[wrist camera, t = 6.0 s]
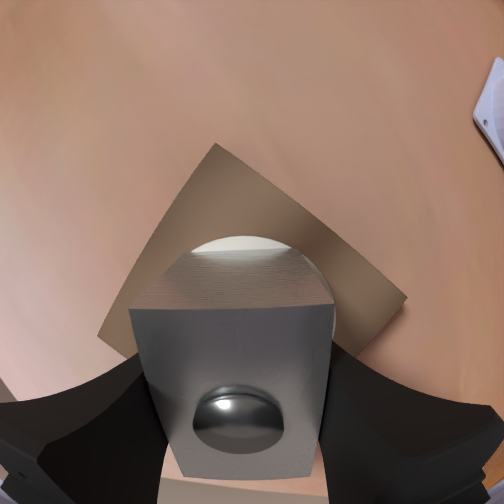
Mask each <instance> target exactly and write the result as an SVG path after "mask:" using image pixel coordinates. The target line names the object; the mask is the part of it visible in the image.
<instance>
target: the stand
mask: <svg viewBox="0 0 504 504" xmlns="http://www.w3.org/2000/svg"><path fill="white" fill-rule="evenodd" d="M277 248H298V249H299V251H300V252H301V254H302V255H303V257H304V258H305V260H306V261H307V262H308V264H309V265H310V267H311V268H312V270H313V271H314V273H315V274H316V276H317V277H318V279H319V280H320V282H321V283H322V285H323V286H324V288H325V289H326V291H327V292H328V294H329V295H330V297H331V298H332V300H333V301H334V303H335V310H334V323H333V334H332V340H333V341H334V342H335V343H336V344H338V345H339V346H340V347H341V348H343V349H344V350H345V351H347V352H348V353H349V354H350V355H352V356H353V357H356V356H357V355H358V354H359V353H360V352H361V351H362V350H363V349H364V348H365V347H366V346H367V345H368V344H369V343H370V341H371V340H372V339H373V338H374V337H375V336H376V335H377V334H378V333H379V331H380V330H381V329H382V328H383V327H384V326H385V325H386V323H387V322H388V321H389V320H390V319H391V318H392V316H393V315H394V314H395V313H396V312H397V310H398V309H399V308H400V307H401V305H402V304H403V303H404V302H405V300H406V299H407V298H408V297H407V296H406V295H405V294H404V293H403V292H401V291H400V290H399V289H398V288H397V287H396V286H395V285H394V284H393V283H392V282H391V281H390V280H388V279H387V278H386V277H385V276H384V275H383V274H382V273H381V272H380V271H379V270H377V269H376V268H375V267H374V266H373V265H372V264H371V263H370V262H368V261H367V260H366V259H365V258H364V257H363V256H362V255H360V254H359V253H358V252H357V251H356V250H355V249H353V248H352V247H351V246H350V245H349V244H348V243H346V242H345V241H344V240H343V239H342V238H341V237H339V236H338V235H337V234H336V233H335V232H333V231H332V230H331V229H330V228H328V227H327V226H326V225H325V224H324V223H322V222H321V221H320V220H319V219H317V218H316V217H315V216H314V215H312V214H311V213H310V212H309V211H307V210H306V209H305V208H304V207H302V206H301V205H300V204H299V203H297V202H296V201H295V200H293V199H292V198H291V197H290V196H288V195H287V194H286V193H284V192H283V191H282V190H280V189H279V188H278V187H276V186H275V185H274V184H272V183H271V182H270V181H268V180H267V179H266V178H264V177H263V176H262V175H260V174H259V173H258V172H256V171H255V170H254V169H252V168H251V167H249V166H248V165H247V164H245V163H244V162H242V161H241V160H240V159H238V158H237V157H235V156H234V155H233V154H231V153H230V152H228V151H227V150H225V149H224V148H222V147H221V146H220V145H218V144H217V143H215V144H214V145H213V146H212V148H211V149H210V150H209V152H208V153H207V154H206V156H205V157H204V158H203V160H202V161H201V163H200V164H199V165H198V167H197V168H196V170H195V171H194V172H193V174H192V175H191V177H190V178H189V179H188V181H187V182H186V184H185V185H184V187H183V188H182V190H181V191H180V193H179V194H178V195H177V197H176V198H175V200H174V201H173V203H172V204H171V206H170V208H169V209H168V211H167V212H166V214H165V215H164V217H163V218H162V220H161V221H160V223H159V225H158V226H157V228H156V229H155V231H154V233H153V234H152V236H151V238H150V239H149V241H148V242H147V244H146V246H145V247H144V249H143V251H142V253H141V254H140V256H139V258H138V259H137V261H136V263H135V265H134V266H133V268H132V270H131V272H130V273H129V275H128V277H127V279H126V280H125V282H124V284H123V286H122V288H121V290H120V291H119V293H118V295H117V297H116V299H115V301H114V303H113V305H112V307H111V309H110V311H109V313H108V314H107V316H106V318H105V320H104V322H103V325H102V327H101V329H100V331H99V333H98V335H97V336H98V337H99V338H100V339H101V340H103V341H104V342H105V343H107V344H108V345H109V346H110V347H112V348H113V349H114V350H116V351H117V352H118V353H120V354H121V355H123V356H124V357H125V358H127V359H129V358H130V357H132V356H133V355H135V354H136V353H138V349H137V345H136V341H135V337H134V333H133V329H132V324H131V320H130V315H129V311H128V308H129V307H130V306H131V305H132V304H133V303H134V302H135V301H136V300H137V299H138V298H139V297H140V296H141V295H142V294H143V293H144V292H145V291H146V290H147V289H148V288H149V287H150V286H151V285H152V284H153V283H154V282H155V281H156V280H157V279H158V278H159V277H160V276H161V275H162V274H163V273H164V272H165V271H166V270H167V269H168V268H169V267H170V266H171V265H172V264H173V263H174V262H175V261H176V260H177V259H178V258H179V257H180V256H181V255H182V254H183V253H184V252H204V251H228V250H253V249H277Z"/></svg>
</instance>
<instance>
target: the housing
mask: <svg viewBox="0 0 504 504" xmlns="http://www.w3.org/2000/svg"><path fill="white" fill-rule="evenodd" d="M334 310H335V303H334V301H333V300H332V298H331V297H330V295H329V294H328V292H327V291H326V289H325V288H324V286H323V285H322V283H321V282H320V280H319V279H318V277H317V276H316V274H315V273H314V271H313V270H312V268H311V267H310V265H309V264H308V262H307V261H306V260H305V258H304V257H303V255H302V254H301V252H300V251H299V249H298V248H277V249H253V250H228V251H204V252H184V253H183V254H182V255H181V256H180V257H179V258H178V259H177V260H176V261H175V262H174V263H173V264H172V265H171V266H170V267H169V268H168V269H167V270H166V271H165V272H164V273H163V274H162V275H161V276H160V277H159V278H158V279H157V280H156V281H155V282H154V283H153V284H152V285H151V286H150V287H149V288H148V289H147V290H146V291H145V292H144V293H143V294H142V295H141V296H140V297H139V298H138V299H137V300H136V301H135V302H134V303H133V304H132V305H131V306H130V307H129V308H128V311H129V315H130V320H131V324H132V329H133V333H134V337H135V341H136V345H137V349H138V353H139V356H140V360H141V363H142V367H143V370H144V374H145V377H146V380H147V384H148V387H149V390H150V393H151V396H152V399H153V402H154V405H155V408H156V411H157V413H158V416H159V419H160V422H161V424H162V427H163V430H164V432H165V435H166V437H167V440H168V442H169V445H170V447H171V449H172V452H173V454H174V456H175V459H176V461H177V463H178V465H179V468H180V470H181V472H182V474H183V476H184V477H192V478H203V479H217V480H275V479H289V478H300V477H309V476H310V474H311V470H312V465H313V461H314V456H315V451H316V446H317V441H318V436H319V430H320V425H321V419H322V413H323V407H324V400H325V393H326V386H327V379H328V371H329V363H330V354H331V344H332V334H333V323H334Z"/></svg>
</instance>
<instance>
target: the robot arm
mask: <svg viewBox="0 0 504 504" xmlns="http://www.w3.org/2000/svg"><path fill="white" fill-rule="evenodd" d="M473 118H474V120H475V122H476V124H477V125H478V126H479V128H480V129H481V131H482V132H483V133H484V135H485V136H486V138H487V139H488V141H489V142H490V144H491V145H492V147H493V148H494V150H495V151H496V153H497V155H498V156H499V158H500V160H501V161H502V163H503V165H504V61H503V60H502V59H501V58H500V57H498V58H496V59H495V61H494V64H493V66H492V69H491V72H490V74H489V77H488V79H487V82H486V84H485V87H484V89H483V91H482V94H481V96H480V98H479V101H478V103H477V105H476V107H475V109H474V112H473ZM483 122H484V123H483ZM503 439H504V421H503V420H502V419H501V418H500V416H499V415H498V414H497V413H496V412H495V410H494V409H493V408H492V407H491V406H490V405H479V404H470V403H461V402H455V401H451V400H446V399H442V398H438V397H434V396H431V395H427V394H424V393H421V392H419V391H416V390H413V389H410V388H408V387H405V386H403V385H401V384H399V383H397V382H395V381H393V380H391V379H388V378H386V377H384V376H383V375H381V374H379V373H377V372H376V371H374V370H373V369H371V368H369V367H368V366H366V365H365V364H363V363H362V362H360V361H359V360H357V359H356V358H355V357H353V356H352V355H350V354H349V353H348V352H347V351H345V350H344V349H343V348H341V347H340V346H339V345H338V344H336V343H335V342H334V341H333V340H332V344H331V354H330V363H329V371H328V379H327V386H326V393H325V400H324V407H323V413H322V419H321V425H320V430H319V436H318V441H319V444H320V448H321V452H322V456H323V462H324V468H325V474H326V481H327V489H328V497H329V504H504V479H503V480H501V481H500V482H499V483H497V484H496V485H495V486H493V487H492V488H490V489H489V490H486V489H485V487H484V485H483V484H482V482H481V481H483V480H484V479H485V477H486V475H485V473H484V471H483V470H482V467H483V466H484V465H485V464H486V462H487V461H488V460H489V459H490V457H491V456H492V455H493V453H494V452H495V451H496V449H497V448H498V447H499V445H500V444H501V442H502V441H503ZM168 443H169V442H168V440H167V437H166V435H165V432H164V430H163V427H162V424H161V422H160V419H159V416H158V413H157V411H156V408H155V405H154V402H153V399H152V396H151V393H150V390H149V387H148V384H147V380H146V377H145V374H144V370H143V367H142V363H141V360H140V356H139V353H136V354H135V355H133V356H132V357H130V358H129V359H127V360H126V361H124V362H123V363H121V364H119V365H118V366H116V367H114V368H113V369H111V370H109V371H108V372H106V373H104V374H102V375H101V376H99V377H97V378H95V379H93V380H91V381H88V382H86V383H84V384H82V385H79V386H77V387H74V388H71V389H68V390H66V391H63V392H60V393H57V394H53V395H50V396H46V397H42V398H37V399H32V400H26V401H18V402H8V403H0V464H1V465H2V466H3V467H4V468H5V470H6V471H7V472H8V473H9V474H8V476H7V477H6V479H5V480H4V481H3V480H1V479H0V504H157V497H158V490H159V483H160V477H161V472H162V466H163V461H164V456H165V453H166V449H167V446H168Z"/></svg>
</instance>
